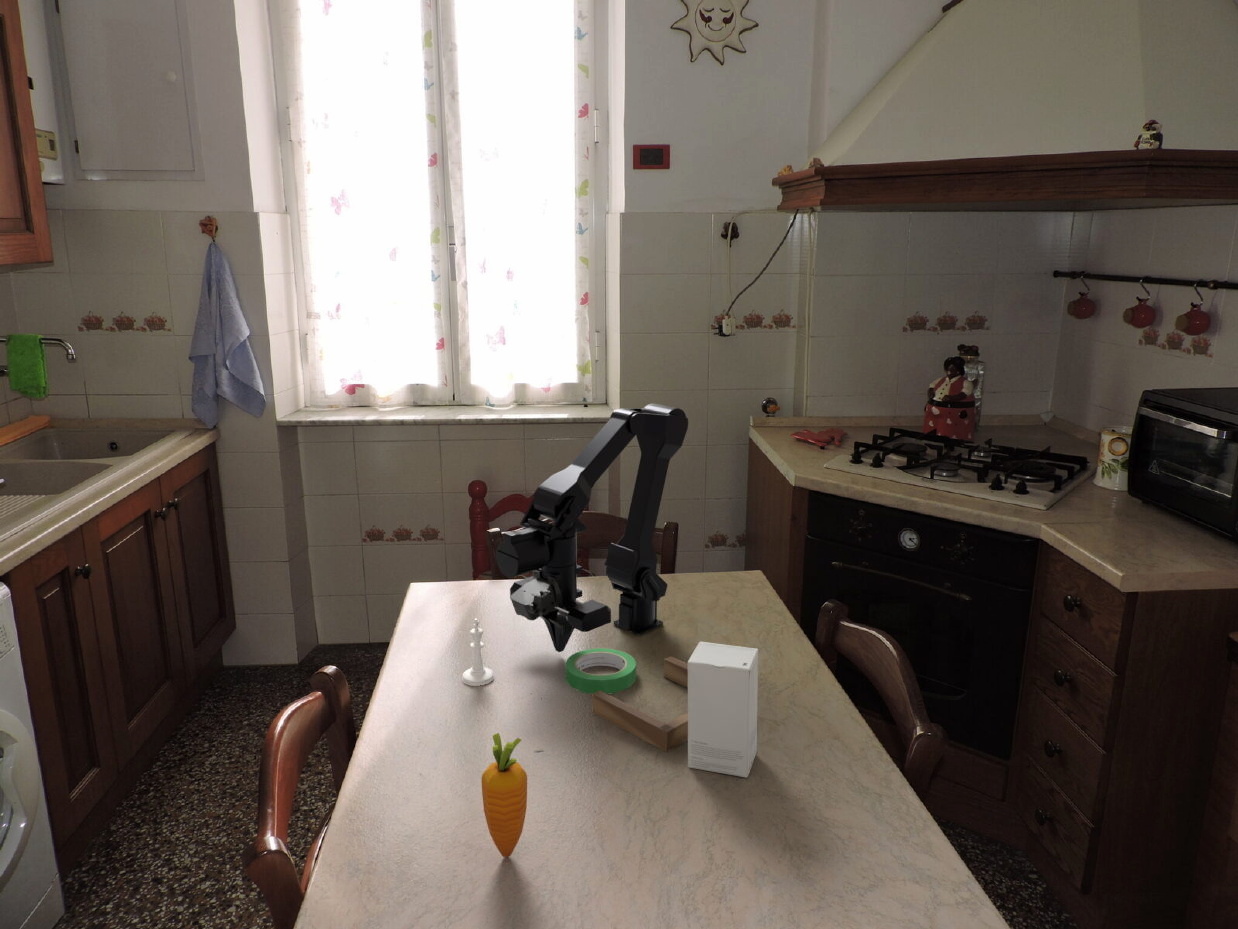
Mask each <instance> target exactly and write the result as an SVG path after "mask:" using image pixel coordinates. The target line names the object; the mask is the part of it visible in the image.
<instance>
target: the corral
mask: <svg viewBox="0 0 1238 929" xmlns="http://www.w3.org/2000/svg"><path fill="white" fill-rule="evenodd" d="M663 677H664V678H666V679H668V680H670V681H671V682H675V683H676V684H678V685H681V686H683V687H685V688H687V689H688V662H684V661H682V660H680V659H678V658H675V657H673V656H668V657H667V658H664V660H663ZM591 695H592V696H591V700H592V701H591V703H592V704H591V705H592V710H591V712H592V714H594V715H596V716H598V717H600V718H602V719H604V720H605V721H607V722H609V723H611V724H613V725H614V726H616V727H619V728H621V729H622V730H624V731H626V732H628V733H629V734H632V735H634V736H635V737H637V738H639V739H641V740H643V741H645V742H647V743H649V744H651V745H653V746H654V747H656V748H658V749H659V750H662V751H664V752H665V753H668V752H671V750H673V749H674V748H676V747H678V746H680V745H681V744H683V743H685V742H688V711H687V712H685V713H683V714H682V715H680V716H678V717H676V718H675V719H674V718H673V720H670V721H669V722H667V723H665V722H663V721H661V720H660V719H657V718H655V716H654V717H653V716H651V715H650V714H647V713H646V712H644V711H642V710H639V709H638V708H635V707H633V706H632V705H630V704H628V703H626V702H624V701H622V700H620V699H618V698H616V697H614V696H612V695H611V694H606V693H604V692H602V691H600V690H599V691H597V692H595V693H593V694H591Z"/></svg>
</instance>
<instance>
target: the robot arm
mask: <svg viewBox="0 0 1238 929" xmlns="http://www.w3.org/2000/svg"><path fill="white" fill-rule="evenodd" d="M688 429H689V418H688V417H687V414H686V413H685V412H684V410H683V409H681V408H679V407H673V406H669V405H664V404H659V403H652V402H651V403H649V404H647V405H645V406H644V407H643V408H642V407H641V408H640V407H638V408H637V407H636V408H635V407H630V408H623V407H620V408H617V409H614V410H613V411H612V413H611V414H610V416H609V420H608V421H607V422H606V423H605V425H604V426H602V428H601V429H600V430H599V432H597V434H595V435H594V437H593V439H592V440H591V441H590V442H589V443H588V444H587V445H586V446H585V448H584V449H583V450H582V451H581V452H580V453H579V455H578V456H577V457H576V458H575V459H574V460H573V462H571V464H569V465H568V466H567V467H565V468H564V469H563V470H561V471H558V472H555V473H553V474H552V475H550V476H549V477H548V478H546V480H545V481H543V482H542V483H541V484H540V485H539V486H538V487H537V488H536V490H535V491H534V493H533V496H532V497H533V498H532V501H531V502H530V504H529V506H528V507H527V510H526V512H525V514H524V516H523V517H522V520H520V524H519V526H520V527H522V528H523V529H519V530H514V531H508V532H504V533H503V540H502V541H500V542H499V543H498V545H497V548H496V550H495V561H496V565H497V567H498V569H499V570H500V573H502V575H504V576H505V577H506V578H509V579H510V578H511V579H512V578H515V577H518V576H522V575H523V574H528V573H531V572H533V575H532V576H529V577H527V578H523V579H520V580H517V581H514V582H513V584H512V585H511V587H510V588H509V594H510V595H509V598H510V600H511V604H512V606H513V608H514V612H515V614H516V615H518V616H521V617H524V618H526V620H528V621H535V620H537V619H538V618H541V619H542V620H543V622H544V623H545V626H546V627H547V630H548V633H549V636H550V639H551V641H552V644H553V647H554V649H555V651H556V652H557V653H562V652H563V651H564V650H565V648H566V647H567V645H568V642H569V641H570V638H571V636H572V635H573V632H574V631H575V630H577V631H580V632H582V633H586V632H590V631H592V630H595V629H598V628H600V627H602V626H605V625H607V624H610V623H611V622H612V609H611V608H610V607H609V606H608V605H607V604H604V603H602V602H599V601H597V600H594V599H590V600H587V601H584V602H583V601H582V600H579V598H581V597H583V590H582V589H580V588H578V587H577V586H578V578H577V577H578V576H577V575H580V574H581V573H583V566H582V565H578V563H577V561H578V560H577V553H578V552H577V550H578V548H577V534H578V533H582V532H584V531H587V530H588V526H587V525H586V524H585V523H584V522H582V521H581V520H580V517H581V516H582V514H583V513H584V511H585V510H586V508H587V506H588V505H589V503H590V501H591V495H592V489H593V487H595V485H596V483H597V482H598V480H600V479H601V477H602V476H603V475H604V473H605V472H606V471H607V470H608V469H609V467H610V466H611V465H612V464H613V463H614V462H615V461H616V459H617V458H618V457H619V456H620V455H621V453H623V451H624V450H625V449H626V447H627V446H628V445H629V444H630V443H631V441H632V440H633V439H634V438H635V436H636V439H637V442H638V446H639V450H640V458H639V459H640V460H639V464H638V469H637V473H636V477H635V481H634V482H635V483H634V487H633V491H632V495H631V496H632V497H631V501H630V505H629V506H630V507H629V510H628V515H627V520H626V523H625V524H626V525H625V528H624V534H623V535H622V536H621V538H620V539H619V540H618V541H617V542H616V543H613V542H611V543H609V545H608V548H607V557H606V559H605V562H604V564H603V565H604V566H606V568H605V573H606V576H607V578H608V580H609V581H610V583H611V587H612V589H614V590H617V591H619V592H622V593H620V594H619V603H618V618H617V619H616V620H614V621H613V625H614V626H616V627H618V628H621V629H624V630H625V631H628V632H630V633H633V634H635V635H637V636H641V635H644V634H646V633H648V632H651V631H653V630H655V629H656V628H659V627H661V626H663V625H664V621H662V620H661V619H658V617H657V616H658V601H660V599H661V598H663V597H665V596H666V592H667V590H668V583H667V582H666V581H665V580H664V579H663V578H662V577H661V576H660V575H659V574H658V573H657V567H658V566H657V563H658V557H657V553H656V550H655V546H654V543H653V540H654V539H653V538H654V534H655V530H656V524H657V520H658V516H659V511H660V506H661V502H662V497H663V493H664V488H665V483H666V479H667V475H668V469H669V465H670V460H671V459H673V457H674V455H675V454H676V453H677V452H678V451H679V450H680V449H681V448H682V446H683V444H684V441H685V438H686V434H687V431H688ZM541 517H542V518H545V519H548V520H550V521H552V522H554V523H549V522H547V521H544V520H541V519H540V518H541Z"/></svg>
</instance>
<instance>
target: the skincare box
mask: <svg viewBox="0 0 1238 929" xmlns="http://www.w3.org/2000/svg"><path fill="white" fill-rule="evenodd" d="M687 664H688V688H687V712H688V740H687V767H688V768H690V769H696V770H701V771H708V772H713V773H718V774H724V775H730V776H735V777H741V778H748V777H749V775H750V771H751V769H752V766H753V763H754V761H755V758H756V754H757V740H758V739H757V738H758V737H757V736H758V690H759V689H758V687H759V686H758V683H759V682H758V680H759V648H756V647H755V648H753V647H747V646H739V645H731V644H722V643H715V642H708V641H699V642H698V644H697V646H696V647H695V649H694V651H693V652H692V654H691V655H690V657H689V659H688V661H687Z"/></svg>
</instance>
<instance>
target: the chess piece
mask: <svg viewBox="0 0 1238 929" xmlns="http://www.w3.org/2000/svg"><path fill="white" fill-rule="evenodd" d="M473 623H474V624H472V625H473V628H472V629H471V630H470V631H469V633H470V634H469V635H470V636H471V639H472V641H473V642H471V643H470V646H469V647H470V649H472V650H473V659H472V666H471V667H470V668H468V669H466V670H465V671H464V672H463V673H462V678H461V681H462V682H463V683H464V684H465V685H468V686H471V687H472V686H473V687H479V686H480V685H481V686H486V685H488V684H490V683H492V682H493V681H494V678H495V675H494V671H493V670H492V669H490V668H488V667H485V666H484V663H483V658H482V652H481V649H482V648H484V647H485V644H484V642H482V641H481V640H482V638H483V633H484V630H483V628H479V625H480V621H479V619H478V618H474V622H473ZM491 681H492V682H491ZM485 684H486V685H485ZM481 686H480V687H481Z"/></svg>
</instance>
